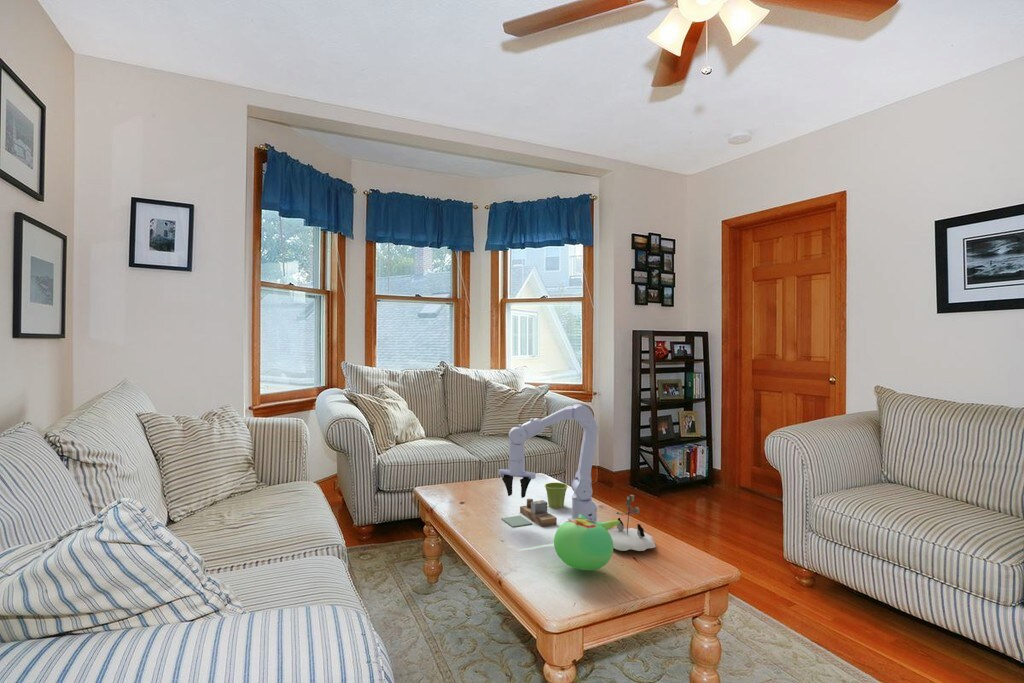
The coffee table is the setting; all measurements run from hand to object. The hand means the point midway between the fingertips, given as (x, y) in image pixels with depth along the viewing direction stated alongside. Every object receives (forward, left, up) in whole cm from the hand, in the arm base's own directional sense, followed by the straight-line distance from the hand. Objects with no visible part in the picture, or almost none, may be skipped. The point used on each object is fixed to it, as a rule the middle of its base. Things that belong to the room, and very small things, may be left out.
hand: (516, 496), depth 199 cm
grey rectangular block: (-1, -9, -7) cm, 11 cm away
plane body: (0, -9, -10) cm, 13 cm away
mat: (0, 0, -10) cm, 10 cm away
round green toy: (-45, 0, -10) cm, 46 cm away
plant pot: (+10, -23, -10) cm, 27 cm away
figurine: (-34, -24, -10) cm, 43 cm away
